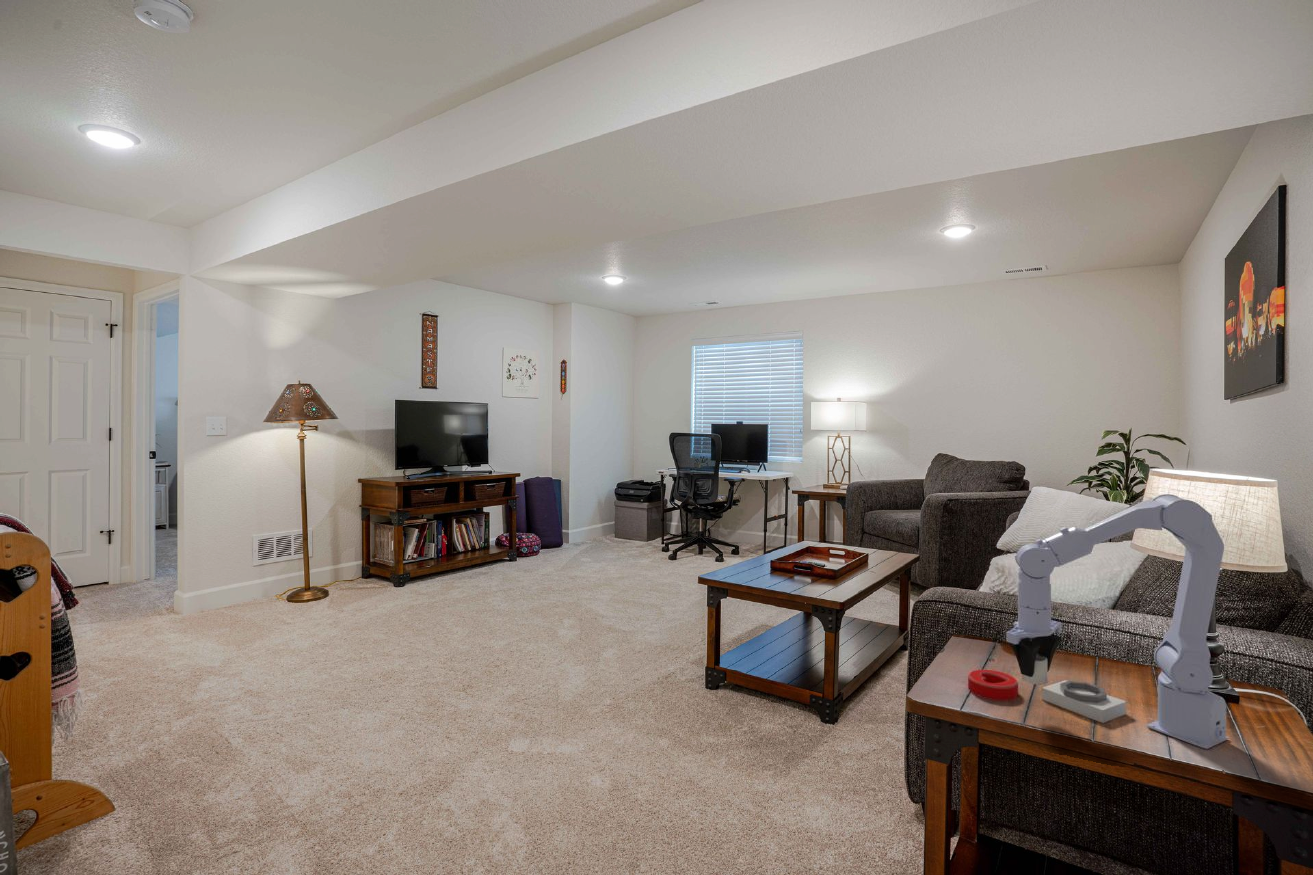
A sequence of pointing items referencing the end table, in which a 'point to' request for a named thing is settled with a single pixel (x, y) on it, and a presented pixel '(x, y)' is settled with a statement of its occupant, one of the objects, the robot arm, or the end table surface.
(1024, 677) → the lens
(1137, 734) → the end table surface
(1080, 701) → the plate with octagonal ring
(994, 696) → the decorative ornament
